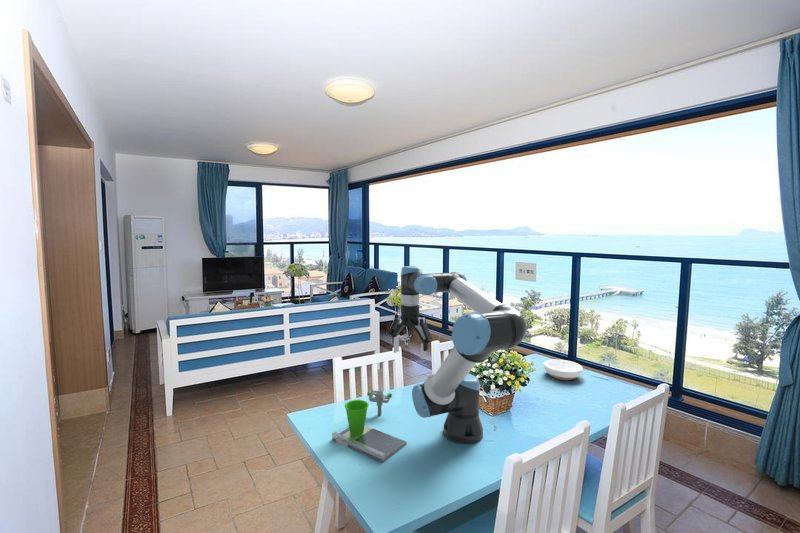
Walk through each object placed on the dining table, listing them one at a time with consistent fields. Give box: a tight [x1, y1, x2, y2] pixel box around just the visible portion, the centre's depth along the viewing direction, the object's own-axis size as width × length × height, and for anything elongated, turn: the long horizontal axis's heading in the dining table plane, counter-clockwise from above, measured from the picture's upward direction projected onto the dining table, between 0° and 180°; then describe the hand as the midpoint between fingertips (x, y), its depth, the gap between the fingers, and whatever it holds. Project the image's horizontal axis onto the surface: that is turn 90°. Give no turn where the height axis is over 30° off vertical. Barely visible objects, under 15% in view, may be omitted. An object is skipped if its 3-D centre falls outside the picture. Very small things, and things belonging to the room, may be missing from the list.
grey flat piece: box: [331, 424, 407, 464], centre depth 144 cm, size 24×14×2 cm, turn 54°
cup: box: [344, 399, 370, 436], centre depth 148 cm, size 9×9×11 cm
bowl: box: [543, 358, 584, 381], centre depth 209 cm, size 20×20×6 cm
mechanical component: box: [366, 389, 393, 417], centre depth 164 cm, size 3×10×10 cm, turn 78°
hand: (409, 355), depth 160 cm, fingers open, 13 cm apart
